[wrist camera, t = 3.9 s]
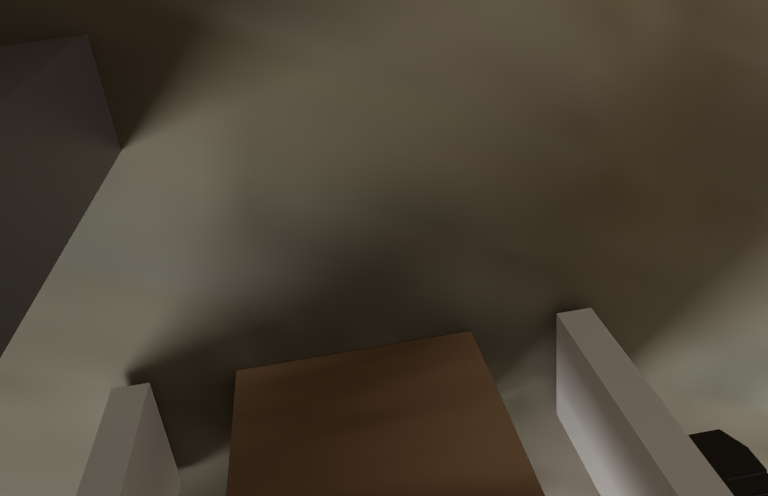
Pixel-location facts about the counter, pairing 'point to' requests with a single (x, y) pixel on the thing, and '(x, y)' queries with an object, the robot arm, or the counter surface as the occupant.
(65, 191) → the domino
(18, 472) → the counter surface
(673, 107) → the counter surface
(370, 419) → the walnut domino
